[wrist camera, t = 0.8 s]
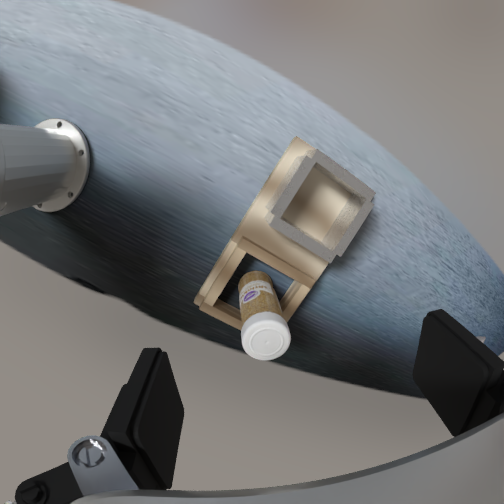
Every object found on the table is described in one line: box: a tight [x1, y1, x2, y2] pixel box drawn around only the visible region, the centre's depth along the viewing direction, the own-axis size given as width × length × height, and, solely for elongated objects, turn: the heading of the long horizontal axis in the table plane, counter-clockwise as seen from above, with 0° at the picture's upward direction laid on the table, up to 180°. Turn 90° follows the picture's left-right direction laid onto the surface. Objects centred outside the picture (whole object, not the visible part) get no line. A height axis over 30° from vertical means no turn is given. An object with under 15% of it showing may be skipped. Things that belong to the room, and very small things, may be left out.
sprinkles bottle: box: [238, 271, 291, 360], centre depth 33 cm, size 5×5×13 cm
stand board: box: [194, 136, 351, 330], centre depth 37 cm, size 24×12×3 cm, turn 148°
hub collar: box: [264, 149, 376, 263], centre depth 34 cm, size 9×9×4 cm
